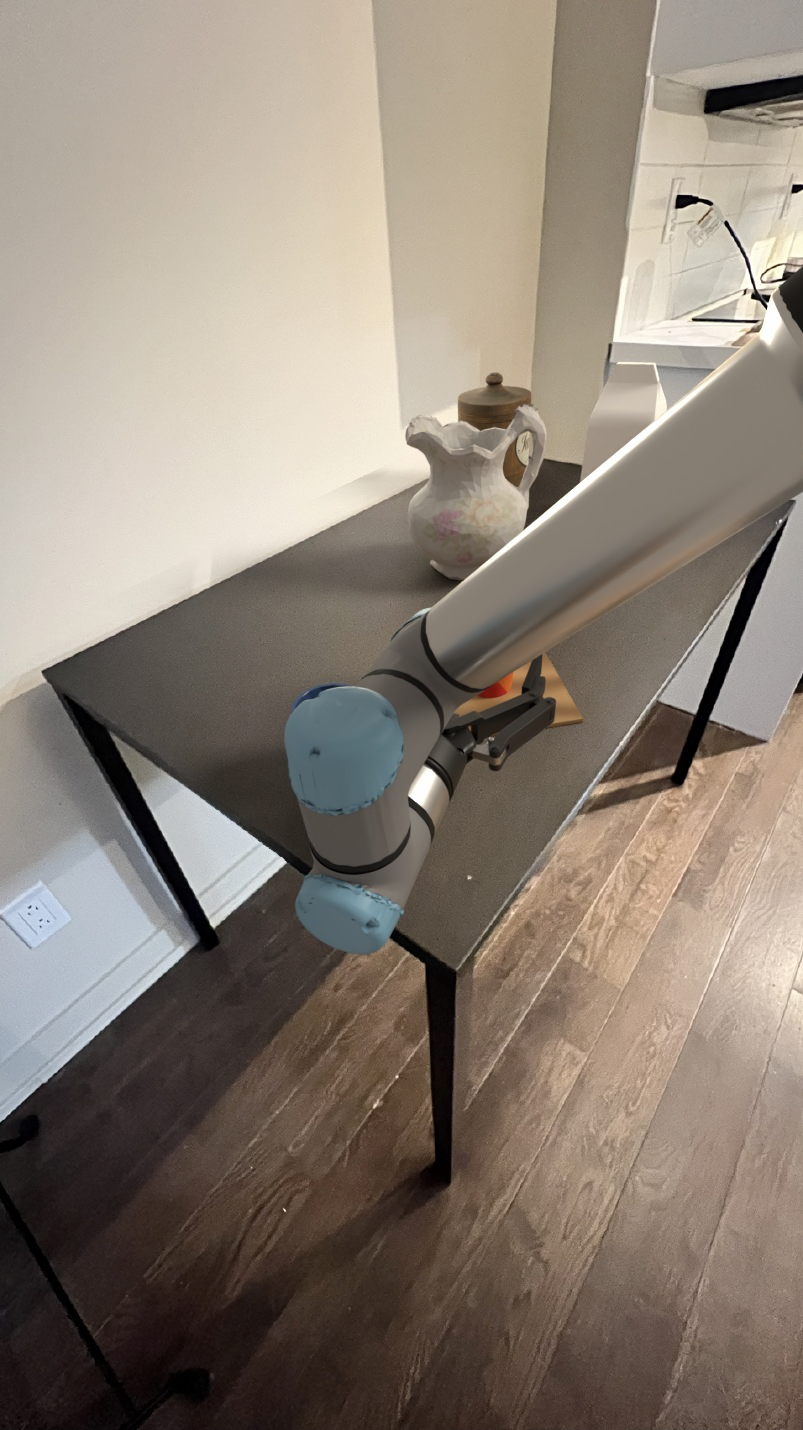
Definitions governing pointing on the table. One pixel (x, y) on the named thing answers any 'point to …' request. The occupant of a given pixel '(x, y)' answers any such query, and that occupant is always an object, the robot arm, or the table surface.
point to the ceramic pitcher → (470, 490)
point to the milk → (622, 412)
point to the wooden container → (498, 419)
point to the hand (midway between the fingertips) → (478, 653)
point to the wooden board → (553, 688)
